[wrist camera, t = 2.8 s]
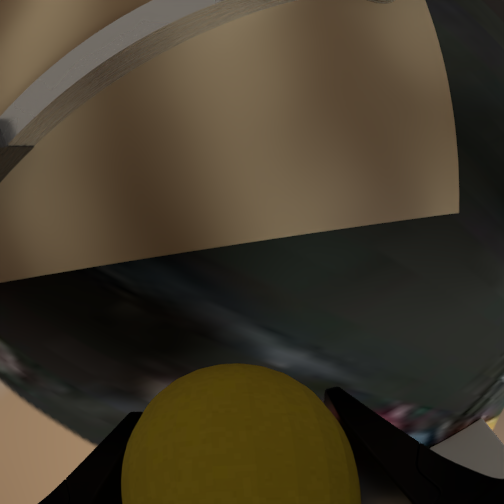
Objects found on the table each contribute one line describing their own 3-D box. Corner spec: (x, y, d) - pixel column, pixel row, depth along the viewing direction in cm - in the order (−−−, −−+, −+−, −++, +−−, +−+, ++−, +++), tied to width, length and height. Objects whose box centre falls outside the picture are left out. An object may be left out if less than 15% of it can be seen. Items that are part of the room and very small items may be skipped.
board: (362, -90, 5) (370, -102, 4) (440, 207, 10) (458, 212, 9) (-19, -12, 4) (-30, -18, 3) (-17, 278, 9) (-32, 288, 8)
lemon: (122, 334, 8) (31, 578, 1) (296, 287, 8) (441, 576, 1) (189, 439, 10) (184, 615, 3) (322, 408, 10) (389, 587, 3)
